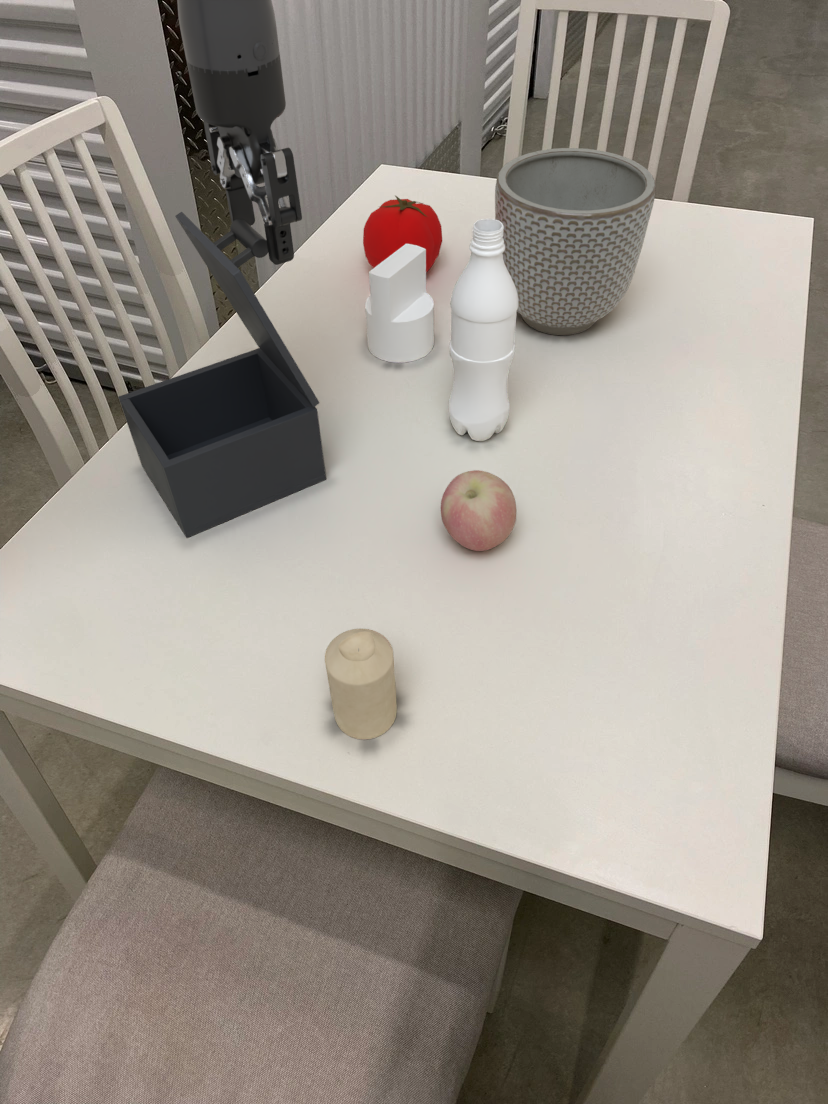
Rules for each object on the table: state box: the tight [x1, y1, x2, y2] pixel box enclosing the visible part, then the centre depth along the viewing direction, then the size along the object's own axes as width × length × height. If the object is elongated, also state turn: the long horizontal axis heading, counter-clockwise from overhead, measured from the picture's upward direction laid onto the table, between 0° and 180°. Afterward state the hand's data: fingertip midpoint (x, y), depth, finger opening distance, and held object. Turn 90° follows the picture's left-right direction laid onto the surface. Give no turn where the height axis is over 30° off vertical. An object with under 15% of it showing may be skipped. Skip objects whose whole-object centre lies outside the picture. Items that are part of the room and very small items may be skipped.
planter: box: [494, 147, 656, 336], centre depth 108 cm, size 20×20×19 cm
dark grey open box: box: [117, 347, 327, 539], centre depth 90 cm, size 17×14×10 cm
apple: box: [440, 469, 517, 552], centre depth 83 cm, size 8×8×8 cm
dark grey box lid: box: [174, 211, 320, 407], centre depth 82 cm, size 18×14×5 cm
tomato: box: [362, 195, 443, 273], centre depth 120 cm, size 12×12×11 cm
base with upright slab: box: [364, 244, 435, 364], centre depth 106 cm, size 9×9×12 cm
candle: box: [324, 628, 398, 740], centre depth 68 cm, size 6×6×10 cm
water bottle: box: [448, 218, 518, 442], centre depth 89 cm, size 7×7×25 cm
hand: (262, 243), depth 78 cm, fingers open, 8 cm apart
